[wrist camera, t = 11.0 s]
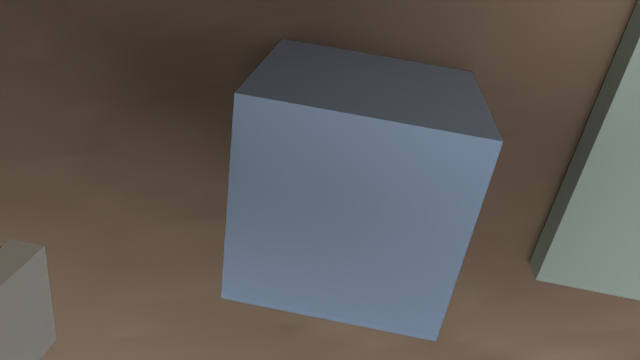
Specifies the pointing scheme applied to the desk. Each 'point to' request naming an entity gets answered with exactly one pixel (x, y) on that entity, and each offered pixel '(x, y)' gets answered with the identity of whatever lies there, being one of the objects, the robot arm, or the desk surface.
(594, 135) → the base plate
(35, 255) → the robot arm
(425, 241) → the brick blue
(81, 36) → the desk surface
